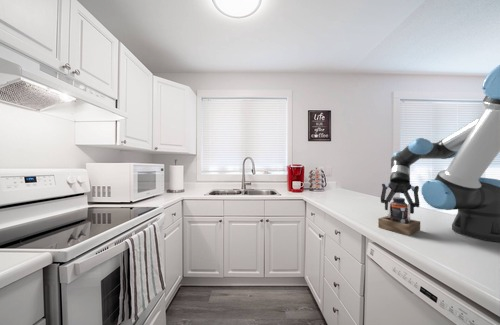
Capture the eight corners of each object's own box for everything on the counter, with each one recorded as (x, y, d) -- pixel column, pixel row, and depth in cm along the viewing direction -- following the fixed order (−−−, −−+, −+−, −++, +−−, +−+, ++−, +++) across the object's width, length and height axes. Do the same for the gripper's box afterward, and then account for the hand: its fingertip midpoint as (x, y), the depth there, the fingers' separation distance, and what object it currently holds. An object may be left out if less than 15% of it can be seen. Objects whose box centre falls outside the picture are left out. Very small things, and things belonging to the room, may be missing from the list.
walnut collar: (420, 230, 79) (420, 221, 79) (408, 235, 73) (408, 225, 73) (390, 223, 88) (390, 215, 88) (378, 227, 83) (378, 218, 83)
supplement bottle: (408, 227, 77) (408, 199, 77) (390, 224, 80) (390, 198, 80) (407, 223, 82) (407, 197, 82) (390, 220, 85) (390, 196, 85)
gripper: (426, 183, 86) (429, 227, 74) (377, 180, 99) (372, 218, 86) (427, 172, 82) (430, 217, 70) (375, 171, 95) (370, 208, 82)
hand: (398, 217), depth 78 cm, fingers open, 6 cm apart
